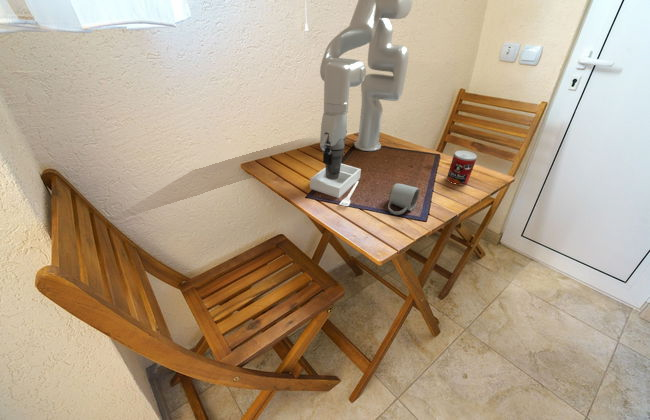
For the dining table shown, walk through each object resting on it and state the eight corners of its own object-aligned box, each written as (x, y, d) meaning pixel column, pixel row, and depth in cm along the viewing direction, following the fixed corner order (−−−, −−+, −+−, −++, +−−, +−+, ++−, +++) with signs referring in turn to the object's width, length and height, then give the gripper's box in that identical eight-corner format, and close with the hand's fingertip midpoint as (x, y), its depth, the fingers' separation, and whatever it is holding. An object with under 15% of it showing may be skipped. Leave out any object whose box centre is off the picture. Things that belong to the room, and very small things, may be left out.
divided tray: (333, 170, 116) (333, 161, 113) (359, 178, 111) (361, 169, 108) (309, 188, 104) (309, 178, 101) (338, 198, 99) (339, 188, 96)
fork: (362, 183, 109) (362, 179, 108) (346, 210, 93) (346, 206, 92) (353, 182, 110) (354, 177, 109) (337, 208, 94) (337, 203, 93)
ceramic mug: (394, 196, 101) (398, 177, 96) (416, 204, 97) (421, 184, 92) (381, 210, 94) (384, 191, 89) (405, 219, 90) (409, 199, 85)
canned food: (443, 180, 111) (451, 154, 104) (451, 173, 116) (459, 148, 109) (462, 188, 107) (472, 161, 100) (470, 180, 112) (480, 154, 105)
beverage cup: (340, 182, 99) (344, 126, 88) (320, 180, 100) (321, 124, 89) (343, 173, 105) (348, 119, 94) (324, 171, 106) (326, 117, 95)
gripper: (338, 99, 96) (336, 148, 107) (310, 111, 84) (310, 166, 94) (358, 103, 93) (354, 153, 103) (332, 116, 81) (330, 172, 91)
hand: (333, 159), depth 99 cm, fingers closed on beverage cup, 7 cm apart
